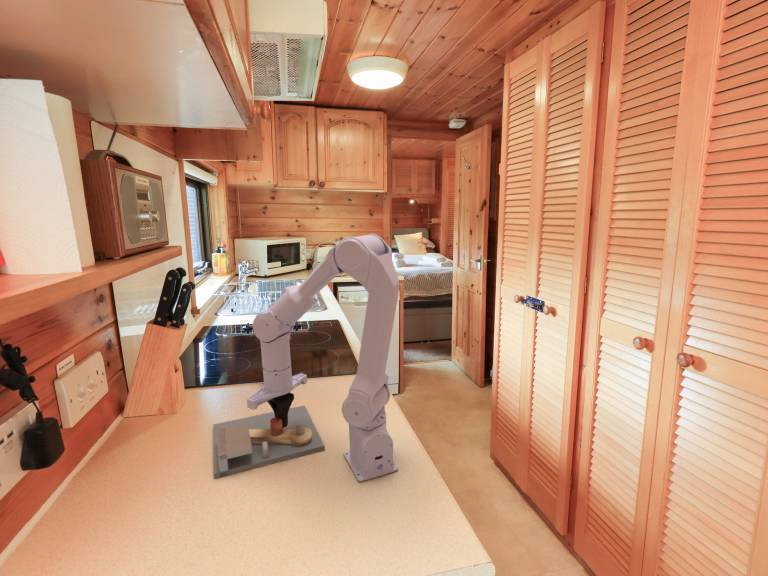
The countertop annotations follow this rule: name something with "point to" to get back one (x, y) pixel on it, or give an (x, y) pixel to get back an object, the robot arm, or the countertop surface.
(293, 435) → the latch
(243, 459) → the board
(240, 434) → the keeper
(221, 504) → the countertop surface
